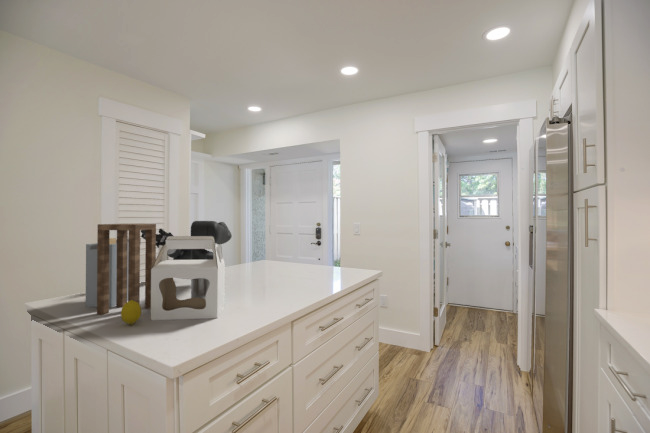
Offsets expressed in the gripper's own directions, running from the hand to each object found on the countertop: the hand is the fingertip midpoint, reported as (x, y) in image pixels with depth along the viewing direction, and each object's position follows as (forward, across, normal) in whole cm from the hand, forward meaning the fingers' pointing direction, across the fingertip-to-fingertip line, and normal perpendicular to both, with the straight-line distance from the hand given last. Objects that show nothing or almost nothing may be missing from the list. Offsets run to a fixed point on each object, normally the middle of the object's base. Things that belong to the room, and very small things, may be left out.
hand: (150, 230), depth 149 cm
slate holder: (+4, +2, -36) cm, 36 cm away
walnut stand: (+13, -11, -41) cm, 44 cm away
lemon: (+26, -23, -49) cm, 60 cm away
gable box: (+15, -36, -42) cm, 58 cm away
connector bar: (+11, +2, -14) cm, 18 cm away
